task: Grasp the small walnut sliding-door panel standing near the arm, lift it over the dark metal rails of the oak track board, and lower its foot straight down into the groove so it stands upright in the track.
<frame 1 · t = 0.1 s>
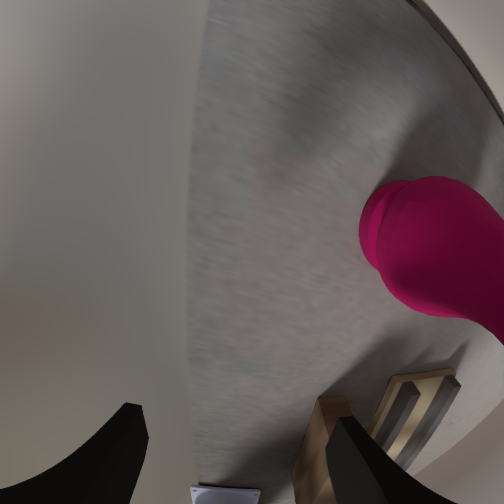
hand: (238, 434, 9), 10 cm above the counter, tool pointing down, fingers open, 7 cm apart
pepper mill: (399, 227, 18), on the counter
track board: (395, 428, 23), on the counter
door panel: (315, 439, 23), on the counter
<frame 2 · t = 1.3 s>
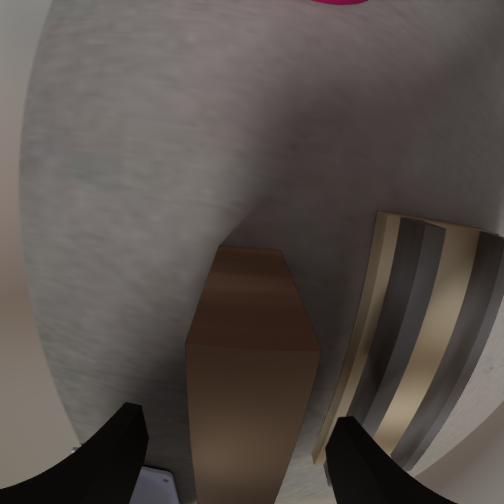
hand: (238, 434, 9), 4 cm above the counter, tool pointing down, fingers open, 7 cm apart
track board: (402, 362, 13), on the counter
door panel: (239, 370, 13), on the counter
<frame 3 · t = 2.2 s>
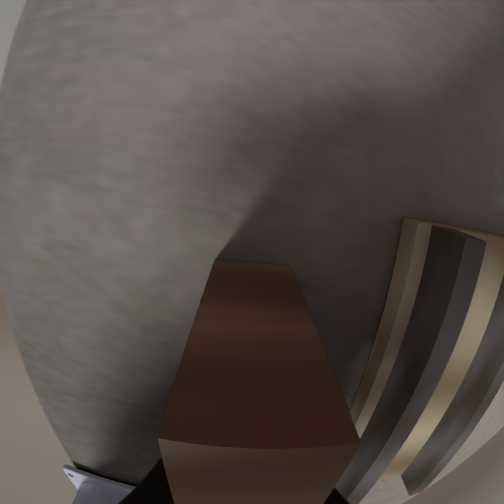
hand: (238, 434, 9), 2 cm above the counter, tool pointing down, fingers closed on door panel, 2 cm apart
track board: (420, 384, 11), on the counter
door panel: (239, 399, 11), on the counter, touching gripper
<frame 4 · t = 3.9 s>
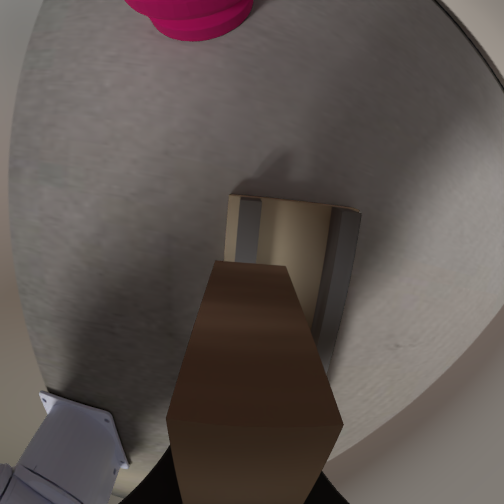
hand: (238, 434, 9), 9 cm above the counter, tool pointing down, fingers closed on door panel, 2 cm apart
pepper mill: (201, 4, 13), on the counter
track board: (277, 322, 18), on the counter
door panel: (239, 394, 12), point 6 cm above the counter, touching gripper
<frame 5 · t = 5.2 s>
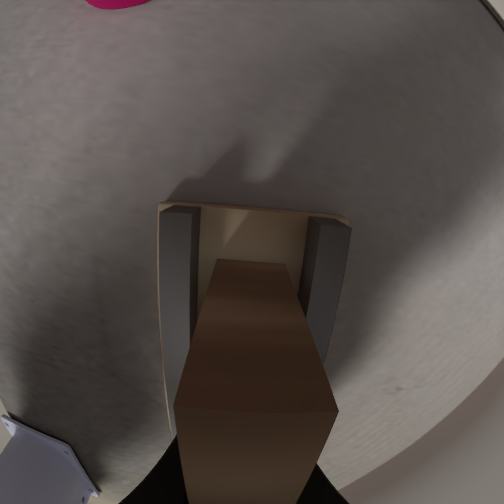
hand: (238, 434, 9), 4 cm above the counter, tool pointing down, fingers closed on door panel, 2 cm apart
track board: (240, 368, 13), on the counter
door panel: (239, 389, 12), point 1 cm above the counter, touching gripper
when the fingers open (4 cm above the counter, at t = 5.6 s): door panel stays where it is, resting on track board.
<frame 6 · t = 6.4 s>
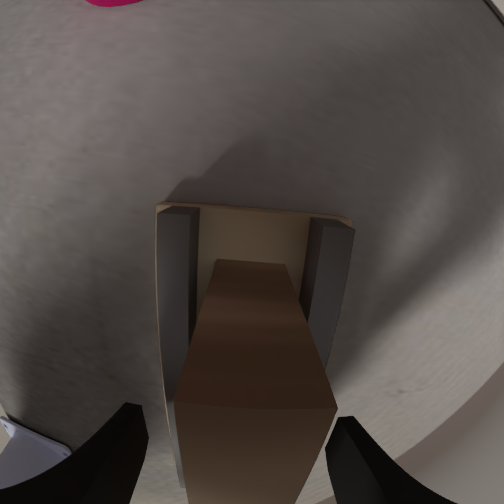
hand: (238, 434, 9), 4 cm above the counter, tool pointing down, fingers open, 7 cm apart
track board: (240, 371, 13), on the counter
door panel: (239, 389, 12), point 1 cm above the counter, touching track board
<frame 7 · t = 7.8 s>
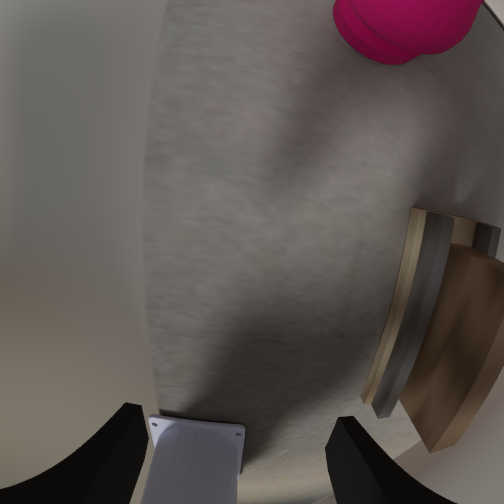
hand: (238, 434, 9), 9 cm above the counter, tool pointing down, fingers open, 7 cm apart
pepper mill: (376, 26, 13), on the counter
track board: (426, 315, 19), on the counter
door panel: (431, 324, 18), point 1 cm above the counter, touching track board
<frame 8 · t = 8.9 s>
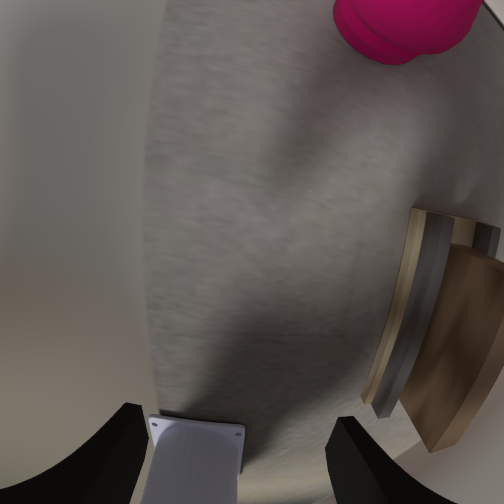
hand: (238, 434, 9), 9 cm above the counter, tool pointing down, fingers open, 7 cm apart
pepper mill: (376, 26, 13), on the counter
track board: (426, 315, 19), on the counter
door panel: (431, 324, 18), point 1 cm above the counter, touching track board
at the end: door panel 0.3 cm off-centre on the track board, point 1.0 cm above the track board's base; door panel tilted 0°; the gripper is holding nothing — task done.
